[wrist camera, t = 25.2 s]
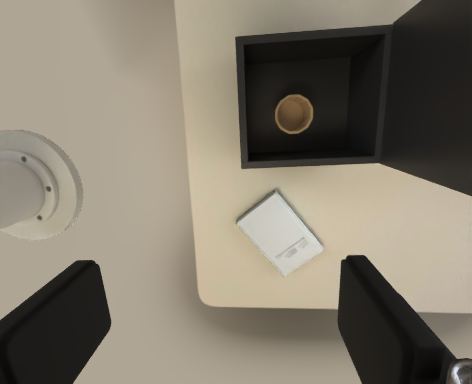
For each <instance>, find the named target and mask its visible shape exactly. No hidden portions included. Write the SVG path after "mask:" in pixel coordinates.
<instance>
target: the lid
mask: <svg viewBox="0 0 472 384" xmlns="http://www.w3.org/2000/svg"><path fill="white" fill-rule="evenodd" d="M380 164H383V165H385V166H388V167H391V168H394V169H397V170H399V171H402V172H405V173H408V174H411V175H413V176H416V177H419V178H422V179H425V180H428V181H430V182H433V183H436V184H439V185H442V186H444V187H447V188H450V189H453V190H456V191H458V192H461V193H464V194H467V195H470V196H472V0H421V1H420V2H419V3H418V4H416V5H415V6H414V7H413V8H411V9H410V10H409V11H408V12H406V13H405V14H404V15H403V16H401V17H400V18H399V19H398V20H396V21H395V22H394V23H393V32H392V43H391V53H390V64H389V74H388V85H387V95H386V106H385V116H384V127H383V137H382V148H381V158H380Z"/></svg>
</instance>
